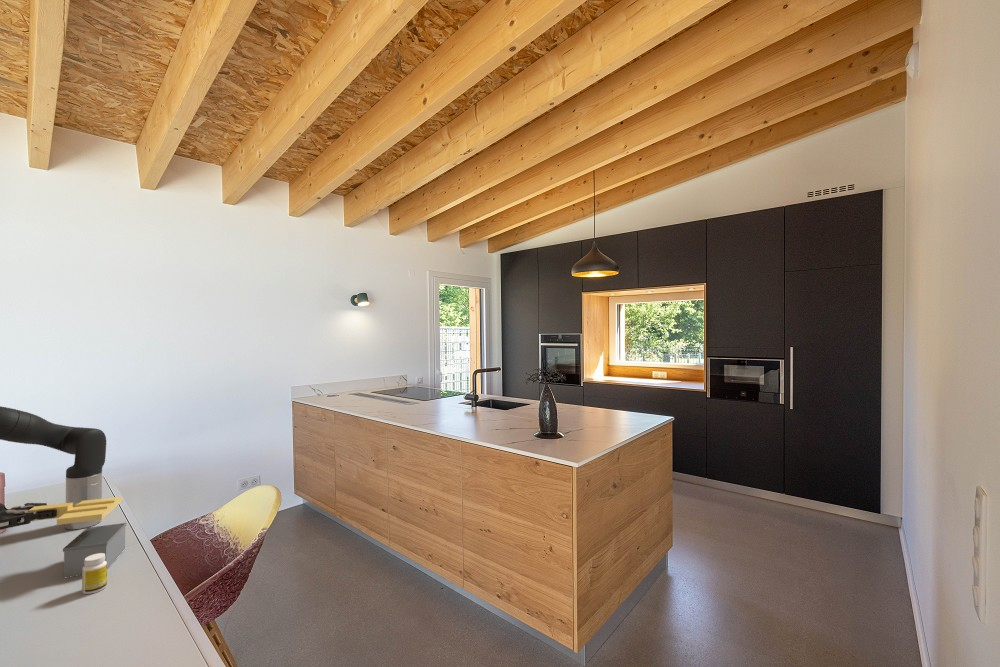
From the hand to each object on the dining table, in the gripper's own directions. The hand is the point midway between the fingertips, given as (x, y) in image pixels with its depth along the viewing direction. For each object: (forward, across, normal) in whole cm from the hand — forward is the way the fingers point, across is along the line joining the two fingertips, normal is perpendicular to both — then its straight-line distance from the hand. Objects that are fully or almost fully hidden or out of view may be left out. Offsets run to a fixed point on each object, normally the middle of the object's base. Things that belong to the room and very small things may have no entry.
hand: (59, 510), depth 126 cm
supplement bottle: (+14, -17, +16) cm, 27 cm away
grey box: (+8, 0, +16) cm, 18 cm away
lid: (+3, 0, +2) cm, 3 cm away
